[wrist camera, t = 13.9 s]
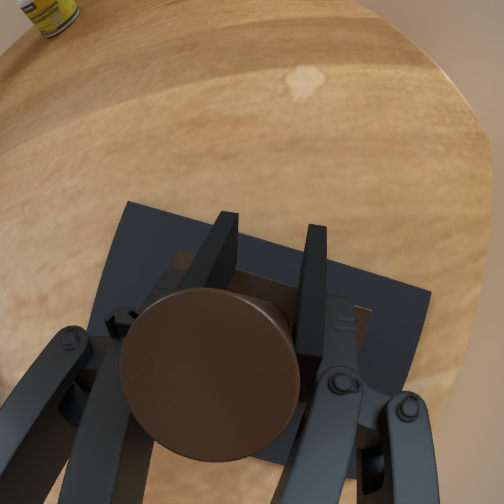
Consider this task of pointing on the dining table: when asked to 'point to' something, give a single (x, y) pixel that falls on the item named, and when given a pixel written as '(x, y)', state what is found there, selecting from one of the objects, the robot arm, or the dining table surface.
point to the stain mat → (276, 268)
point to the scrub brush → (216, 366)
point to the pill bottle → (50, 14)
